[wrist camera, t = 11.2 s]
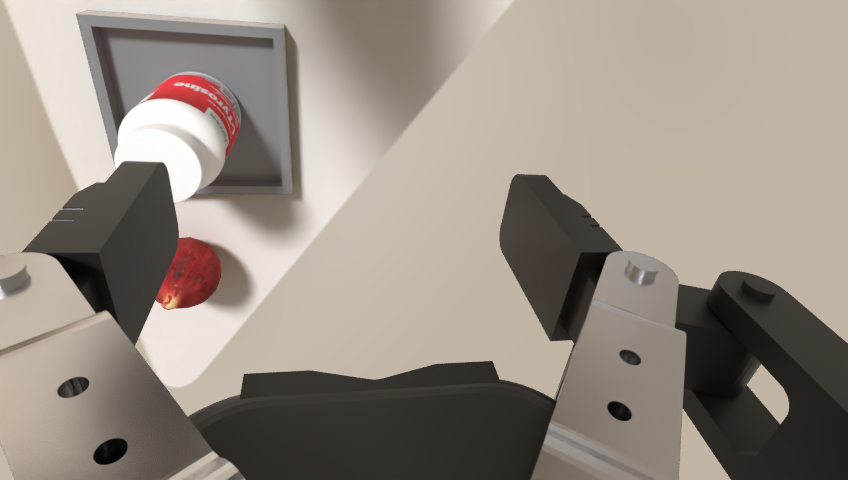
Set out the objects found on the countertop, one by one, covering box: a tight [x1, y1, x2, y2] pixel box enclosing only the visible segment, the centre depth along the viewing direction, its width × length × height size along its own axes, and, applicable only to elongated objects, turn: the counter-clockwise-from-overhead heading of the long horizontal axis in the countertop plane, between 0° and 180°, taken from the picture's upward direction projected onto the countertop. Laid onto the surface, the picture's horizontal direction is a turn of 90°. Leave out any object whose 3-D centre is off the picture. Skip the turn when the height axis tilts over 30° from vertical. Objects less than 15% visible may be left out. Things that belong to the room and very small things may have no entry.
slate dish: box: [76, 10, 293, 194], centre depth 37 cm, size 13×13×2 cm
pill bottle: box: [114, 72, 241, 203], centre depth 33 cm, size 6×6×11 cm
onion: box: [155, 237, 221, 310], centre depth 41 cm, size 6×6×8 cm
